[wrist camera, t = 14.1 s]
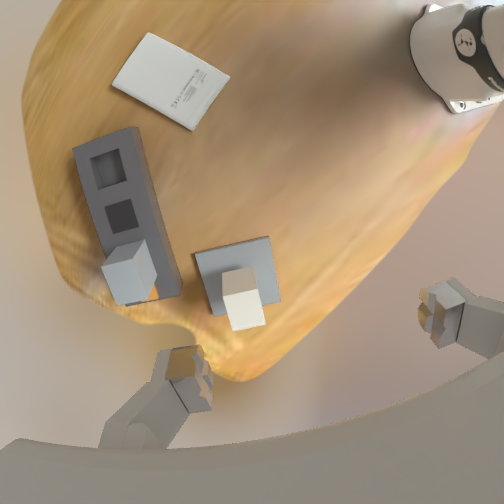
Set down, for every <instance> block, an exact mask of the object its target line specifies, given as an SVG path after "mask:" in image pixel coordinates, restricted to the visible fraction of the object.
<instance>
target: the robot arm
mask: <svg viewBox="0 0 504 504" xmlns="http://www.w3.org/2000/svg"><path fill="white" fill-rule="evenodd" d="M410 47H411V53H412V57H413V60H414V62H415V65H416V67H417V69H418V71H419V73H420V75H421V76H422V78H423V79H424V81H425V82H426V83H427V84H428V86H429V87H430V88H431V89H432V90H433V91H435V92H436V93H437V94H438V95H440V96H441V97H442V98H443V99H444V101H445V103H446V104H447V106H448V108H449V109H450V111H451V112H452V113H454V114H457V113H462V112H465V111H469V110H472V109H476V108H479V107H483V106H486V105H490V104H494V103H497V102H501V101H503V99H504V4H503V5H499V6H492V5H486V6H478V7H475V8H474V9H472V8H470V7H468V6H466V5H465V4H457V5H453V6H449V7H445V8H442V7H440V6H438V5H435V4H430V5H428V6H427V7H426V10H425V13H424V15H423V17H421V18H420V19H419V20H418V21H416V23H415V24H414V26H413V28H412V30H411V35H410ZM419 299H420V300H421V301H422V303H421V305H420V306H419V308H418V319H419V323H420V325H421V327H422V328H423V330H424V331H426V332H428V333H431V335H430V339H431V340H432V341H433V343H434V344H435V345H436V346H437V348H439V349H440V348H442V347H445V346H447V345H450V344H452V343H455V342H456V343H458V344H460V345H461V346H463V347H465V348H468V349H469V350H471V351H473V352H475V353H477V354H479V355H481V356H483V357H485V358H487V359H489V360H487V361H486V362H484V363H482V364H480V365H478V366H476V367H475V368H472V369H471V370H469V371H467V372H465V373H463V374H461V375H459V376H457V377H455V378H453V379H450V380H448V381H446V382H444V383H442V384H440V385H438V386H435V387H433V388H431V389H429V390H426V391H424V392H422V393H419V394H417V395H414V396H412V397H409V398H407V399H404V400H402V401H399V402H397V403H394V404H392V405H389V406H386V407H383V408H380V409H377V410H374V411H371V412H368V413H365V414H362V415H359V416H356V417H353V418H349V419H346V420H342V421H339V422H335V423H332V424H329V425H324V426H320V427H317V428H313V429H309V430H305V431H300V432H296V433H291V434H286V435H281V436H276V437H271V438H265V439H259V440H253V441H247V442H240V443H232V444H224V445H216V446H206V447H195V448H179V449H166V448H167V447H168V446H169V444H170V443H171V441H172V440H173V438H174V437H175V435H176V434H177V432H178V431H179V429H180V428H181V427H182V425H183V424H184V422H185V421H186V419H187V418H188V416H189V414H190V413H197V412H204V411H210V410H212V403H213V396H212V393H211V392H210V389H211V388H212V387H213V377H212V371H211V368H210V365H209V363H208V361H206V360H204V351H203V349H202V347H201V346H200V345H193V346H187V347H179V348H173V349H166V350H160V351H159V352H158V354H157V358H156V362H155V366H154V370H153V374H152V378H151V382H148V383H146V384H145V385H144V386H143V387H142V388H141V389H140V390H139V391H138V392H137V393H136V394H135V395H133V396H132V397H131V398H130V399H129V400H128V401H127V402H126V403H125V404H124V405H123V406H122V407H121V408H120V409H119V410H118V411H117V412H116V413H115V414H114V415H113V416H112V417H111V418H110V419H109V420H107V421H106V423H105V426H104V429H103V432H102V436H101V439H100V443H99V447H98V448H89V447H77V446H68V445H59V444H52V443H45V442H39V441H34V440H29V439H22V438H20V439H16V440H14V441H13V442H11V443H10V444H8V445H6V446H5V447H4V448H3V449H1V450H0V504H504V302H500V301H497V300H493V299H489V298H485V297H482V296H479V297H477V296H476V295H474V294H473V293H472V292H471V291H470V290H469V289H468V288H466V287H465V286H464V285H463V284H462V283H461V282H459V281H458V280H457V279H456V278H449V279H447V280H444V281H442V282H440V283H437V284H434V285H431V286H429V287H426V288H423V289H421V291H420V295H419Z"/></svg>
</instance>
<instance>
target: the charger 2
mask: <svg viewBox="0 0 504 504" xmlns="http://www.w3.org/2000/svg"><path fill="white" fill-rule="evenodd" d="M222 293H223V300H224V303H225V306H226V310H227V313H228V317H229V320H230V323H231V327H232V330H233V331H237V330H242V329H247V328H251V327H256V326H260V325H265V324H266V323H265V318H264V314H263V309H262V305H261V301H260V296H259V292H258V287H257V283H256V279H255V275H254V271H253V266H251V267H246V268H242V269H237V270H233V271H229V272H224V273H222Z"/></svg>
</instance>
